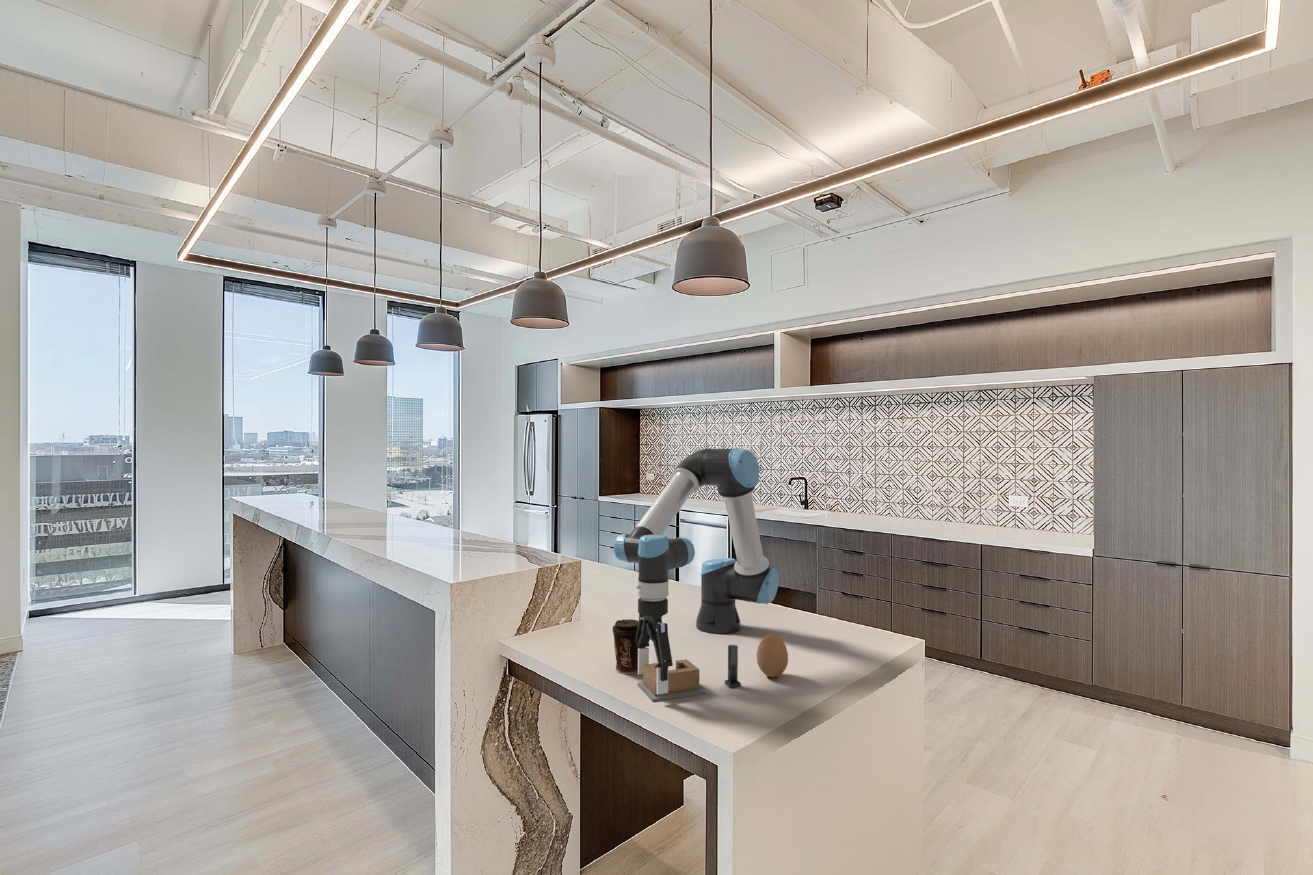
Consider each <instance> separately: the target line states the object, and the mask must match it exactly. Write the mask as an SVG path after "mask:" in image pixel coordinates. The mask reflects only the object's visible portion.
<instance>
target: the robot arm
mask: <svg viewBox="0 0 1313 875" xmlns="http://www.w3.org/2000/svg"><path fill="white" fill-rule="evenodd" d="M759 465H760V464H759V461H758V459H757V457H756V455H755V454H754V452H752V451H751V450H749V449H745V448H739V447H734V448H703V449H699V450H695V452H693V453H691V454H690V455H688V456H687V457H685V459H683V460H682V461H680V463H678V465H677V466H676V467H675V468H674V470H673V471H672V472H671V475H670V478H671V479H670V480H669V481H668V483H667V484H666V486H664V488H663V489H662V490H661V492H660V493H659V495H657V498H656V499H655V500H654V501H653V503H652V504H651V505H650V506H649V509H647V511H646V512H645V514H644V515H643V516H642V518H640V520H639V521H638V523H637V524H636V525H635V527H634V528H633V529H632V531H631V532H630V533H622V534H620V535H618V536H617V537H616V538H615V540H614V544H613V553H614V556H615V558H617V559H618V560H619V561H623V562H626V563H633V564H638V567H637V568H638V582H637V583H638V584H637V585H636V590H637V591H638V594H637V595H638V597H639V598H638V599H637V613H638V620H637V621H638V626H637V632H636V637H635V643H637V647H638V648H639V649H638V671H637V675H643V670H644V665H646V664H650V661H649V660H650V658H649V657H650V653H649V652H650V649H649V647H650V643H649V642H650V640H651V642H653V643H652V644H653V647H654V652H655V656H656V660H657V663H658V664H657V665H656V668H657V694H664V693H668V671H669V667H673V665H674V664H673V657H672V652H671V645H670V640H669V638H670V637H669V633H668V632H669V631H668V630H669V629H668V628H669V627H668V623H667V622H664V623H663V616H665V615H667V614H668V611H669V599H668V598H667V597H669V571H671V570H674V569H678V568H683V567H684V566H687V565H689V564H690V563H692V562H693V560H694V558H695V553H696V551H695V546H694V544H693V542H692V541H691V540H690V539H689V538H686V537H675V538H669V537H667V536H666V535H663V534H664V533H665V532H666V530H667V529H668V527H669V526H670V524H671V523H672V521H673V520H674V518H675V517H676V516H677V514H678V513H679V511H680V510H681V508H682V507H683V506H684V504H685V503H686V502H687V500H688V499H689V497H690V496H691V494H695V493H696V492H697V491H698V490H699V488H701V487H704V486H715V487H716V489H717V492H718V493H717V494H718V495H719V496H720V497H721V498H723V499H724V503H725V509H726V514H727V517H728V521H729V522H728V523H729V527H730V532H731V536H732V538H731V539H732V542H733V548H734V550H735V556H736V559H735V558H732V557H726V558H725V557H724V558H714V559H709V560H705V561H704V562H703V563H702V564H701V572H700V576H701V580H700V581H701V582H700V584H701V588H700V589H701V590H700V592H701V594H700V596H701V597H700V598H701V599H700V600H701V602H700V608H699V610H698V613H697V616H696V620H695V628H696V629H697V630H699V631H701V632H702V631H703V632H704V633H705V632H706V633H711V634H729V633H735V632H737V631H740V630H741V619H740V616H739V612H738V609H737V607H736V601H743V602H749V603H754V604H764V605H768V604H770V603H772V602H773V601H774V599H775V598H776V596H777V593H778V589H779V583H780V573H779V571H778V569H776V568H774V567H771V565H770V561H769V559H768V558H767V557H766V556H764V553H763V548H762V542H761V538H760V532H759V526H758V521H757V517H756V516H757V515H756V512H755V506H754V500H753V495H752V493H753V492H754V490H755V489H756V486H757V485H758V483H759V480H760V473H761V471H760V466H759ZM639 637H640V638H639Z"/></svg>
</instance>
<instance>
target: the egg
mask: <svg viewBox="0 0 1313 875" xmlns="http://www.w3.org/2000/svg"><path fill="white" fill-rule="evenodd" d="M788 662H789V654H788V649H787V647H786V644H785V643H784V640H783V639H782V638H781V637H780V636H778V635H777V634H775V633H768V634H767V635H765V636H763V638H762V639H761V641H759V644H758V646H757V650H756V663H757V666H758V667H759V669H760V671H761V672H762V673H763V675H765V676H767V677H769V678H776V677H779V676H781V675H782V674H783V673H784V672H785V671H786V669H787V666H788V664H789V663H788Z"/></svg>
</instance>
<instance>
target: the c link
mask: <svg viewBox="0 0 1313 875" xmlns="http://www.w3.org/2000/svg"><path fill="white" fill-rule="evenodd" d="M657 664H658V662H657V663H654V662H653V663H649V664H646V665H644V670H643V674H642V675H643V681H642V682H643V685H644V686H645V687H646V688H647V689H648V690H649V691H650V692H651V693H652V694H653V695H654V696H660V695H666V694H673V693H680V692H687V691H693V690H699V686H700V669H699V667H697V666H696V665H694V664H693V663H692V662H690V661H689V659H687V658H685V659H678V660H675V669H671V670H669V669H668V693H664V694H657V668H656V665H657Z"/></svg>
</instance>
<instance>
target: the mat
mask: <svg viewBox="0 0 1313 875" xmlns="http://www.w3.org/2000/svg"><path fill="white" fill-rule="evenodd" d="M637 686H638V687H639V688H640V690H641V691H642V692H643V693H644V694H645V695H646V696H647V697H648V698H649V700H651V702H659V701H666V700H672V699H679V698H687V697H693V696H694V697H695V696H699V695H705V694H706V690H704V689H703V688H702V687H701V686H700V685H699V690H693V691H687V692H680V693H673V694H666V695H660V696H654V695H653V694H652V693H651V692H650V691H649V690H648V689H647V688H646V687H645V686H644V685H643V681H642V682H637Z"/></svg>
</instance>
